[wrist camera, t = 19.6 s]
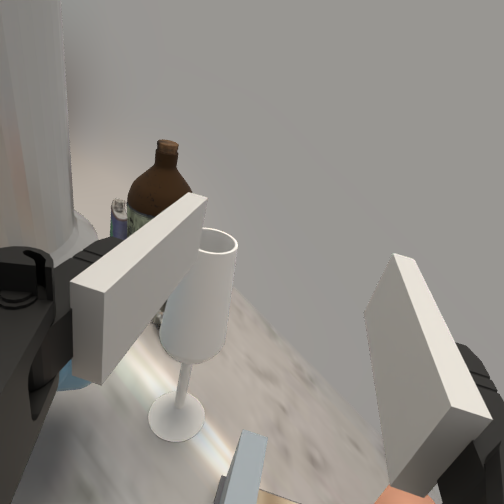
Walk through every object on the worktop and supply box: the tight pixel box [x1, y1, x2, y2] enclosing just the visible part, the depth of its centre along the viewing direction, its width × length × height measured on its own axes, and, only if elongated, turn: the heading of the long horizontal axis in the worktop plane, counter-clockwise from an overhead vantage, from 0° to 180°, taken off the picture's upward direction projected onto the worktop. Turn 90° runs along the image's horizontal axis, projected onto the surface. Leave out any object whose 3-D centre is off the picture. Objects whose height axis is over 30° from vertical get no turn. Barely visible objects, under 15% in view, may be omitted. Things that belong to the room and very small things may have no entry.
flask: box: [110, 198, 127, 240], centre depth 67 cm, size 9×3×11 cm, turn 24°
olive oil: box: [127, 140, 192, 238], centre depth 58 cm, size 11×11×25 cm
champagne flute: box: [148, 228, 238, 442], centre depth 35 cm, size 7×7×24 cm
